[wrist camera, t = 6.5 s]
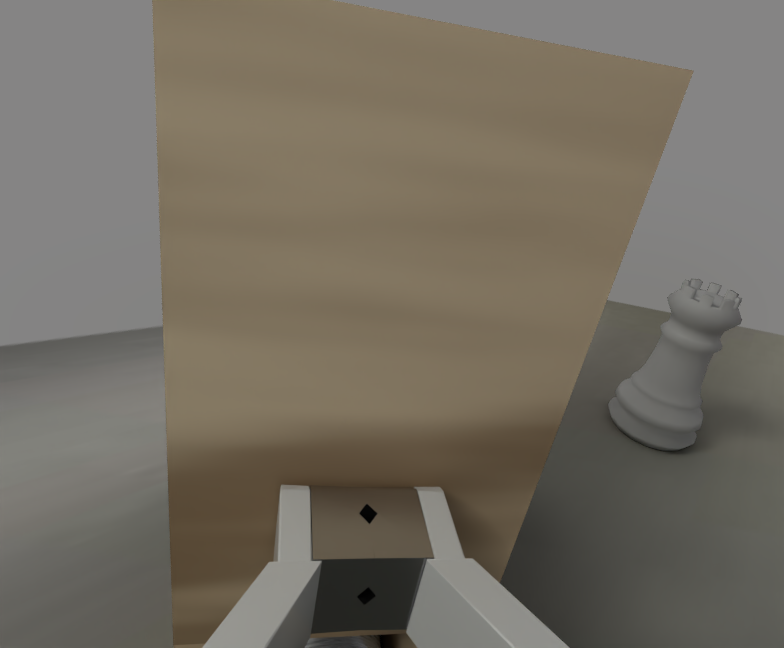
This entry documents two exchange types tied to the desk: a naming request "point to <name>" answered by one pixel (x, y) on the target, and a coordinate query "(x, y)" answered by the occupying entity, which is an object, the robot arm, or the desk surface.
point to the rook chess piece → (676, 370)
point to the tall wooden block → (378, 265)
